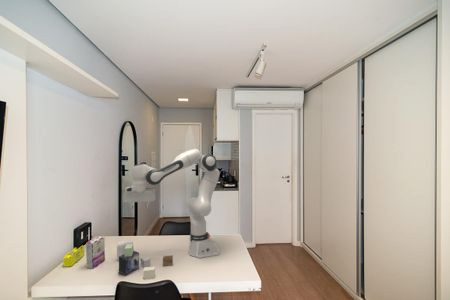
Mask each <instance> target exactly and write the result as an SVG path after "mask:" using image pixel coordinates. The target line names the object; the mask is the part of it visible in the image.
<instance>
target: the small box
mask: <svg viewBox="0 0 450 300" xmlns="http://www.w3.org/2000/svg"><path fill="white" fill-rule="evenodd" d="M139 269H140V252H139V251H136V250H134V252H133V254H132V256H128V257H124V255H121V256H119V261H118V275H121V276H122V277H123V276H124V277H127V276H128V275H130V274H132V273H134V272H135V271H137V270H139Z"/></svg>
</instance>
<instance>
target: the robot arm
mask: <svg viewBox="0 0 450 300" xmlns="http://www.w3.org/2000/svg"><path fill="white" fill-rule="evenodd" d="M193 165H197V167H198V168H199V169H201V170H204V175H203V177H202V179H201V181H200V184H199V185H198V186H199V187H198V189H197V190H198V195H197V197H196V196H192V197H190V198H188V199H187V202H186V207H187V209H188V215H189V221H190V233H189V240H190V243H189V249H188V255H189V256H192V257H196V258H198V259H202V258H208V257H209V258H210V257H213V256H219V255H220V253H221V252H220V250H221V249H220V248H219V247H218V246H217V243H216V241H215V240H214V239H213V238H211V235H210V233H209V232H208V231H207V221H206V218H205V217H207V216H209V215H210V214H211V213H212V205H211V203H212V197H213V194H214V191H215V189H216V186H217V184H218V182H219V179H220V175H221V173H220V170H219V169H218V168H217V158H216V156H215V155H213V154H211V153H208V154H202V153H201V151H200V150H199V149H198V148H191V149H188V150H186V151H183V152H182V153H180V154H178V155H177V156H175V158H174V160H173V161H172V162H171V163H169V164H166V165H165V166H163V167H161V168H155V167H151V166H149V165H147V164H145V163H138V164H135V165H134V166H133V167H132V175H131V176H132V185H130V186H127V187H125V188H124V193H123V196H122V202H123V203H128V205H129V206H130V210H134V205H132V203H142V202H144V203H145V202H146V203H147V204H146V205H145V209H148V208H149V204H150V203H151V202H154V201H156V188H155V187H147V183H148V184H149V185H153V186H156V185H158V184H160V183H161V182H162V181H163V180H164V179H165V178H166V177H168V176H170V175H172V174H174V173H176V172H177V171H181V170H184V169H186V168H189V167H192V166H193Z"/></svg>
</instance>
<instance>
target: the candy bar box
mask: <svg viewBox="0 0 450 300" xmlns="http://www.w3.org/2000/svg"><path fill="white" fill-rule="evenodd" d="M85 246H86V247H85V252H86V258H85V259H86V269H90V270H91V269H92V270H93V269H95V268H97V267H98V266H99V265H100V264H102V263H104V262H105V260H106V254H105V252H106V251H105V236H100V235H98V236H96V237H94V238H93V239H91V240H89V241H87V242H86V243H85Z"/></svg>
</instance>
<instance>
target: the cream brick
mask: <svg viewBox="0 0 450 300" xmlns="http://www.w3.org/2000/svg"><path fill="white" fill-rule="evenodd" d="M142 273H143V275H142V276H143V277H142V279H143V280H150V279H155V277H156V266H150V267H144V268H143V272H142Z"/></svg>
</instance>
